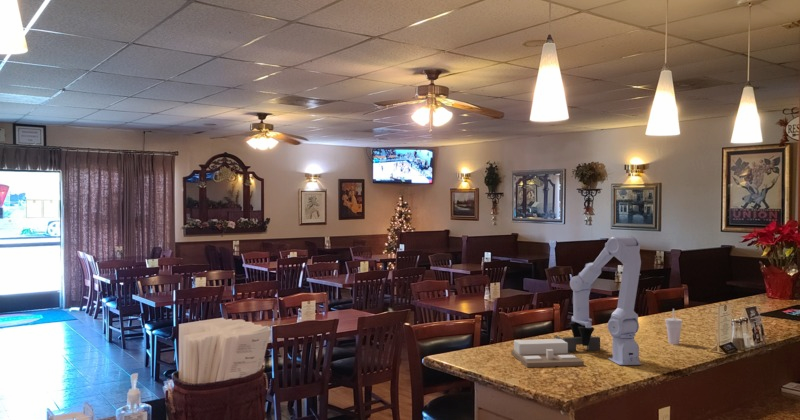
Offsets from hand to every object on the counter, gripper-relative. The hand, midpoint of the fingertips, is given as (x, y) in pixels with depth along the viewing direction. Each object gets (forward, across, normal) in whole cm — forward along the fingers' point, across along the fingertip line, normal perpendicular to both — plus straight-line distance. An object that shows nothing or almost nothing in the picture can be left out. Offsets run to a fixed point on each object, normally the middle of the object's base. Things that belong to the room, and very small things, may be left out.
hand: (581, 343), depth 229 cm
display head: (+3, -12, +18) cm, 22 cm away
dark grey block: (+3, +5, 0) cm, 5 cm away
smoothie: (+3, +7, -41) cm, 42 cm away
